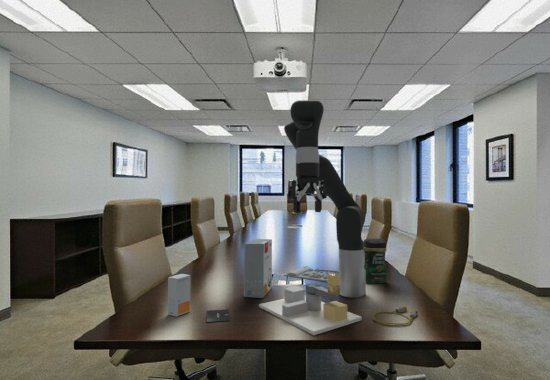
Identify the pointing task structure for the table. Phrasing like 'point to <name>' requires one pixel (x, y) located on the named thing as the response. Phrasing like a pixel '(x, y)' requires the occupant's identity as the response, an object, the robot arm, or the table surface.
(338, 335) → the table surface
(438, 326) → the table surface
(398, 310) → the extension cord
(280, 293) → the table surface
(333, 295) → the bar
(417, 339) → the table surface
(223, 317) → the solid state drive
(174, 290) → the skincare box
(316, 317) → the base
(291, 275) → the grey patterned tray
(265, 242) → the hard drive box
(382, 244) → the coffee jar
